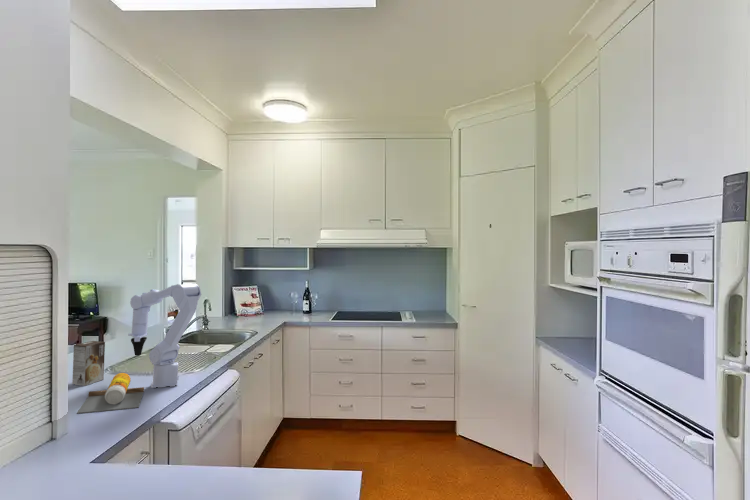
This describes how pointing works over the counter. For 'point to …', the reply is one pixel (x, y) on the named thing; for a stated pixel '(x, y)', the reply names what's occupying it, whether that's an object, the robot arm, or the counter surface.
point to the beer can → (117, 388)
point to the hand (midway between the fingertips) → (137, 355)
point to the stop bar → (97, 393)
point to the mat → (102, 405)
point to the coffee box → (88, 363)
